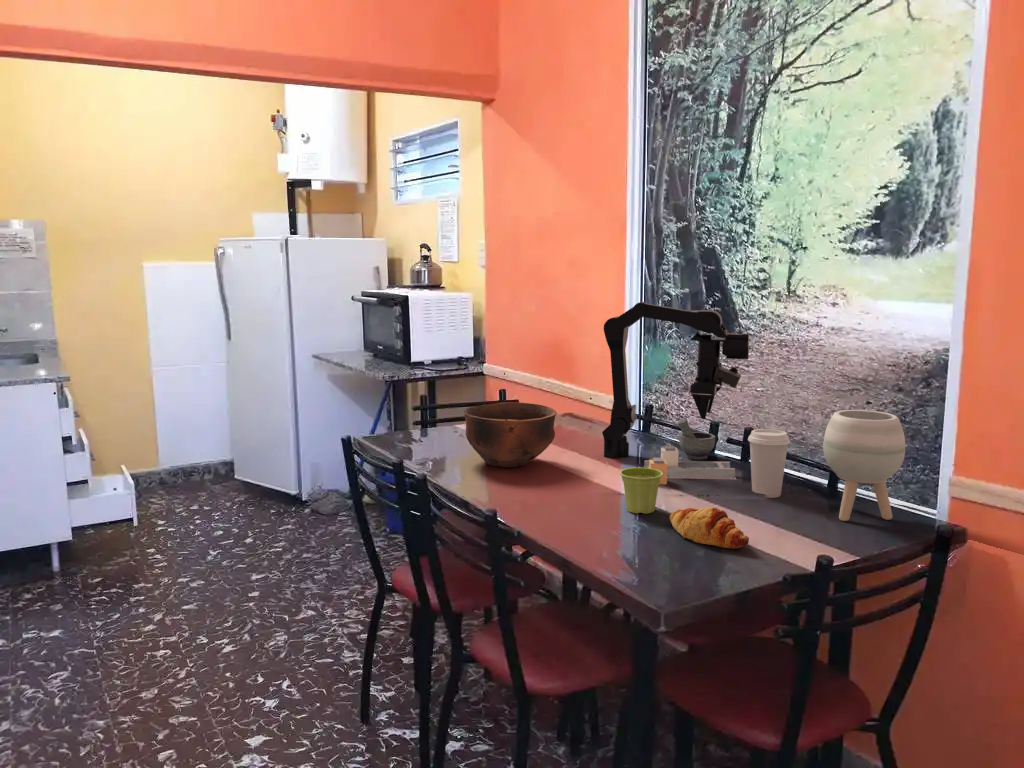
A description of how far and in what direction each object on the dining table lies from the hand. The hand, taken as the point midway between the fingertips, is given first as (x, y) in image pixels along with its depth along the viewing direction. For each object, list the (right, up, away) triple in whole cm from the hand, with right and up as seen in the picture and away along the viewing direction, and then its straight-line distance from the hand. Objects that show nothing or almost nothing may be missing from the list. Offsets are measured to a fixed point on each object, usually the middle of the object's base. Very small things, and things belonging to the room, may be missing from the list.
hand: (705, 415), depth 218 cm
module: (-16, -17, -18) cm, 29 cm away
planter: (+23, -20, -42) cm, 52 cm away
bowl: (-53, -14, +4) cm, 55 cm away
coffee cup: (+8, -18, -25) cm, 32 cm away
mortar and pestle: (-1, -13, +8) cm, 15 cm away
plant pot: (-24, -20, -38) cm, 49 cm away
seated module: (-11, -14, -8) cm, 20 cm away
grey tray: (-6, -15, -8) cm, 18 cm away
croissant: (-13, -23, -55) cm, 61 cm away
